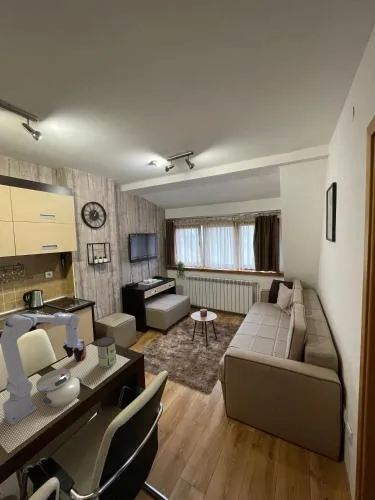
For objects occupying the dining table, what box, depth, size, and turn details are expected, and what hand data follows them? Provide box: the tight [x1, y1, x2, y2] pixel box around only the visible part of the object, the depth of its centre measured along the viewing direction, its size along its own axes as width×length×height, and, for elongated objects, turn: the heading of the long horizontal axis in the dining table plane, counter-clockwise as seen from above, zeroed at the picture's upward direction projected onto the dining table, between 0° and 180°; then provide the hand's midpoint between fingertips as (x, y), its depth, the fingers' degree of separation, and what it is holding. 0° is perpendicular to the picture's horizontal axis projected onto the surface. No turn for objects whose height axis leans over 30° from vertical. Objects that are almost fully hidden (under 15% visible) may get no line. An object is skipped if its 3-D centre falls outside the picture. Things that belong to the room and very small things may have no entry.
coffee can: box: [96, 336, 117, 369], centre depth 132 cm, size 10×10×14 cm
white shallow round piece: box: [43, 376, 82, 408], centre depth 108 cm, size 16×14×4 cm
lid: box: [35, 368, 72, 393], centre depth 111 cm, size 15×15×3 cm
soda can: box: [73, 337, 87, 361], centre depth 137 cm, size 7×7×12 cm
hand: (74, 358), depth 121 cm, fingers open, 7 cm apart
